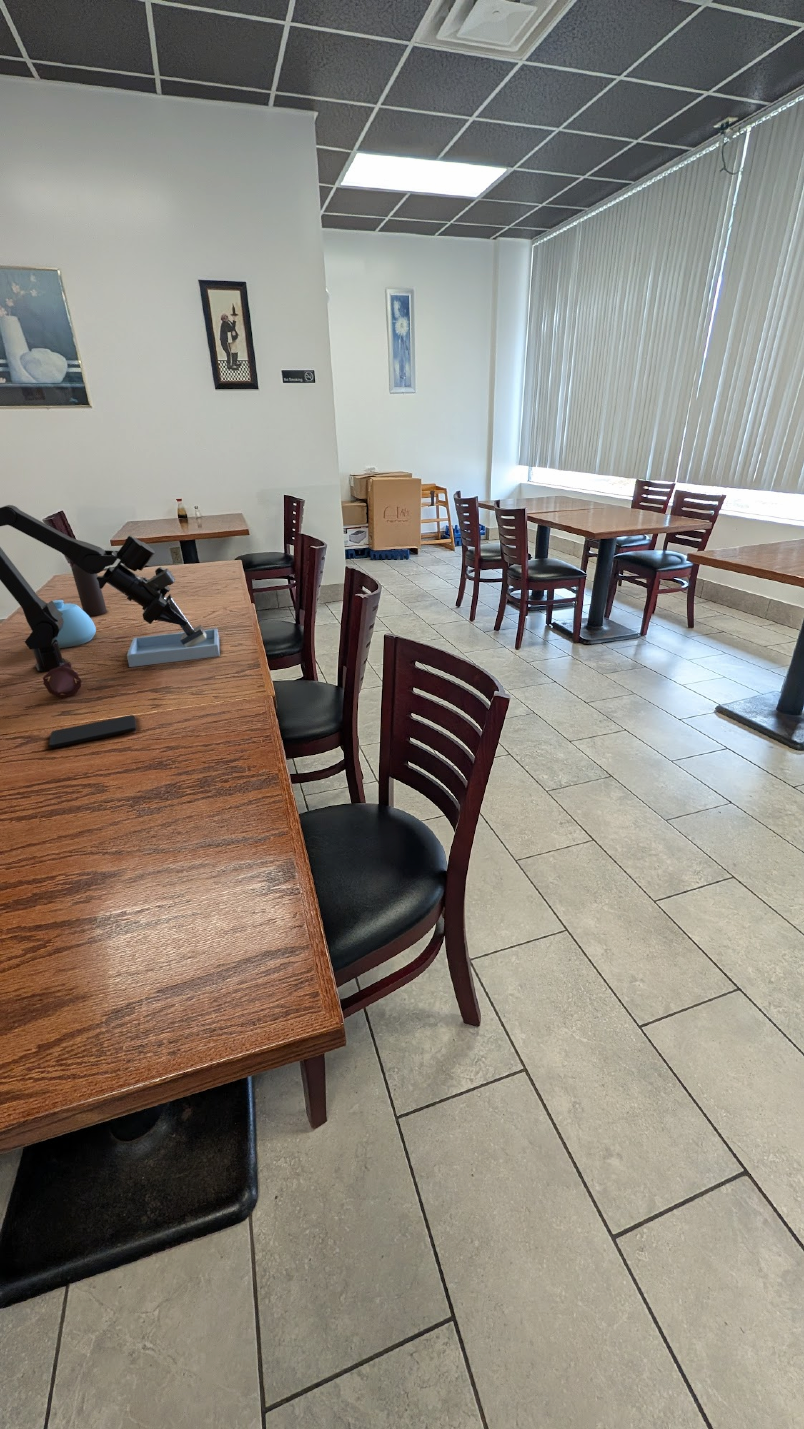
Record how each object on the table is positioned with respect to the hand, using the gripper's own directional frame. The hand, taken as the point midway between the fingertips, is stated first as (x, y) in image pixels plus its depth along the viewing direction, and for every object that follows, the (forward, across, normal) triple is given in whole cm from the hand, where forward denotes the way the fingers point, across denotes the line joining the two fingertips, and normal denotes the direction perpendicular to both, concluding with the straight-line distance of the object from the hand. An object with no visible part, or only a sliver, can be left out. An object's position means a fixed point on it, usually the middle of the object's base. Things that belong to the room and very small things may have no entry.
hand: (186, 622), depth 153 cm
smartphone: (-6, -46, +17) cm, 49 cm away
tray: (+2, -2, +8) cm, 8 cm away
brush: (+5, 0, +3) cm, 6 cm away
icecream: (-13, -23, +23) cm, 35 cm away
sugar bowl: (-19, +20, +29) cm, 40 cm away
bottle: (-17, +49, +28) cm, 59 cm away
